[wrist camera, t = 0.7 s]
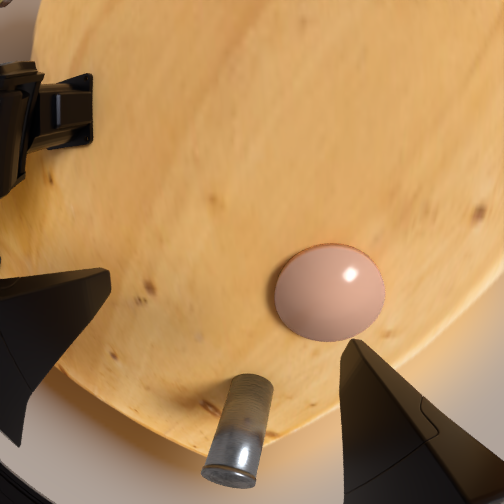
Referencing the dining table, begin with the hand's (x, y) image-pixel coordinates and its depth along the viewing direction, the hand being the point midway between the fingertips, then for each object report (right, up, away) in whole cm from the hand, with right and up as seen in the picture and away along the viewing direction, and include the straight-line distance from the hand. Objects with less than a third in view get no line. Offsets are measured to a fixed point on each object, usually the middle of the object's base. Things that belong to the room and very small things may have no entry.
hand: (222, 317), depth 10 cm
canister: (+1, -13, +21) cm, 25 cm away
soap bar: (+7, -1, +14) cm, 15 cm away
